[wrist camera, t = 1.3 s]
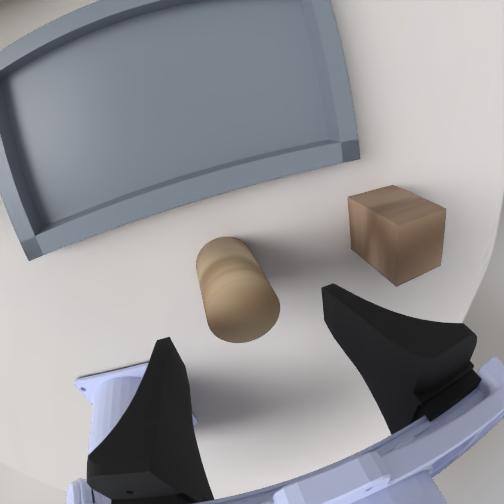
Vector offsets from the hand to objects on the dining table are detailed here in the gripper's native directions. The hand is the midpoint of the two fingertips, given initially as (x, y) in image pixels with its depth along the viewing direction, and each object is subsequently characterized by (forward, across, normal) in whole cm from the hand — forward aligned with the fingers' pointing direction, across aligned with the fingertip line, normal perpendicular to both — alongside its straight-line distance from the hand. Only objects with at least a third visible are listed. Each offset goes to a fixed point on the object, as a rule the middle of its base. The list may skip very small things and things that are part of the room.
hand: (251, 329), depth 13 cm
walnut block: (+7, -11, 0) cm, 13 cm away
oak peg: (+7, 0, 0) cm, 7 cm away
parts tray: (+7, +1, -11) cm, 13 cm away
